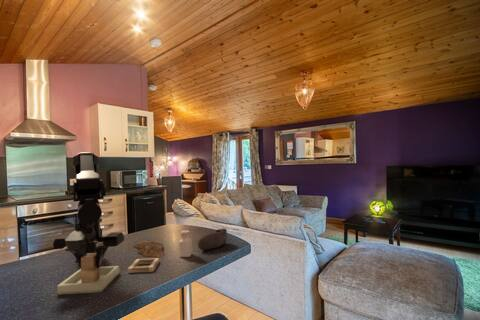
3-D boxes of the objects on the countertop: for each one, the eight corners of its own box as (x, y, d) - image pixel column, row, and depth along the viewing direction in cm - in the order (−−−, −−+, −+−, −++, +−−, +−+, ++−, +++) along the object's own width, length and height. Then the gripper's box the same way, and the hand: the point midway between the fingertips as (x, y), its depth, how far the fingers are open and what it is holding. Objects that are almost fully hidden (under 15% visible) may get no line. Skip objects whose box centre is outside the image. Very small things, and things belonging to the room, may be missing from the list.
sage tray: (82, 275, 83) (81, 267, 83) (119, 273, 83) (118, 265, 83) (57, 294, 71) (57, 285, 71) (101, 292, 71) (100, 283, 71)
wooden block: (88, 278, 79) (87, 253, 79) (99, 278, 79) (99, 252, 79) (81, 284, 75) (80, 257, 75) (93, 283, 75) (93, 256, 75)
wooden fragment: (131, 244, 113) (131, 242, 113) (155, 239, 119) (155, 237, 119) (145, 263, 92) (145, 260, 92) (174, 256, 98) (174, 253, 98)
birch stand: (136, 263, 91) (136, 258, 91) (159, 261, 92) (159, 257, 92) (128, 272, 83) (128, 268, 83) (152, 271, 84) (152, 267, 84)
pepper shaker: (182, 253, 99) (182, 229, 99) (192, 253, 99) (191, 229, 99) (179, 257, 95) (178, 232, 96) (189, 257, 95) (188, 232, 95)
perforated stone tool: (201, 254, 99) (201, 236, 99) (194, 250, 103) (194, 233, 103) (231, 245, 109) (230, 229, 109) (223, 242, 112) (223, 226, 113)
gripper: (37, 225, 68) (39, 282, 68) (107, 222, 69) (109, 278, 69) (64, 216, 80) (65, 265, 80) (124, 214, 81) (125, 262, 81)
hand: (90, 268), depth 77 cm, fingers open, 4 cm apart
